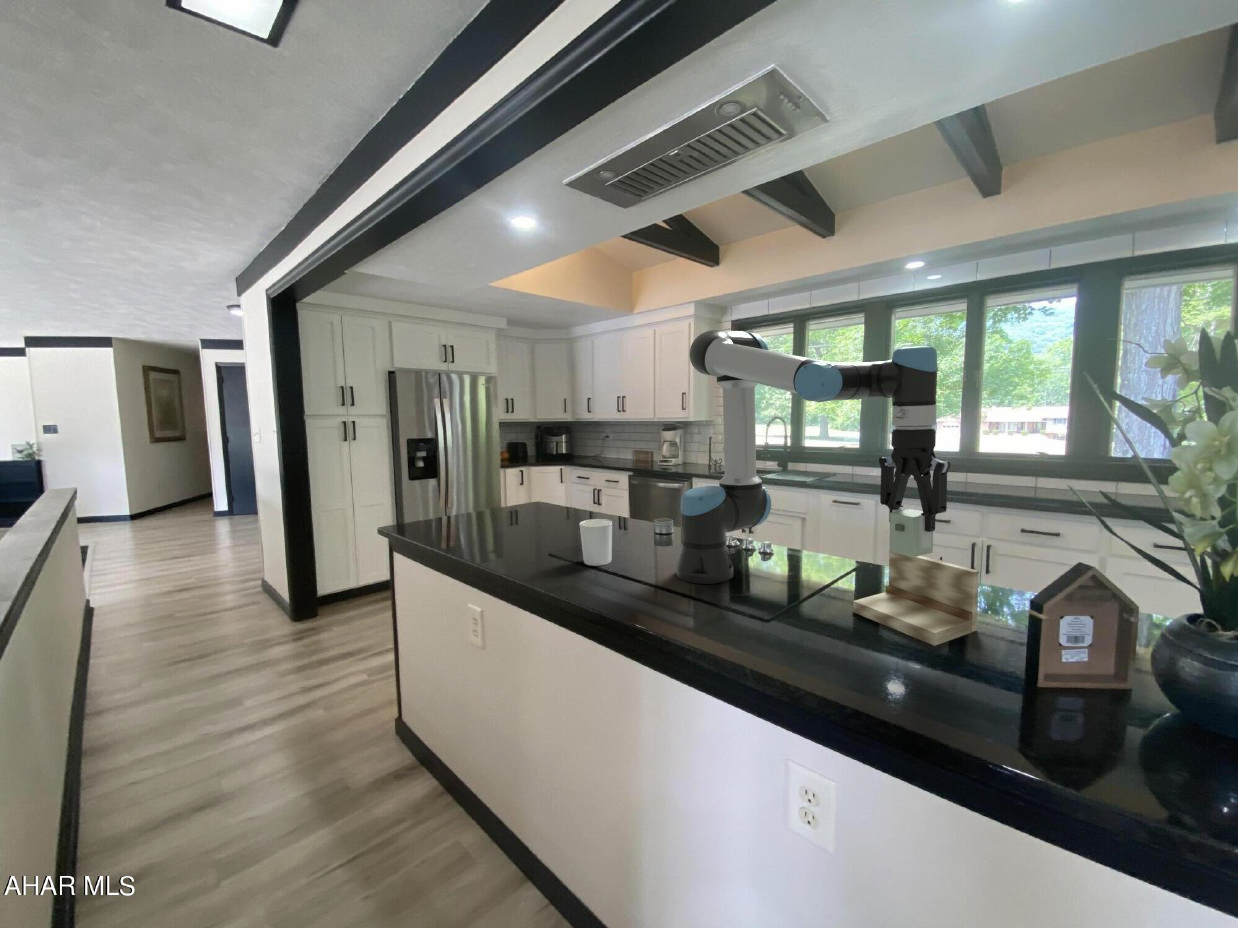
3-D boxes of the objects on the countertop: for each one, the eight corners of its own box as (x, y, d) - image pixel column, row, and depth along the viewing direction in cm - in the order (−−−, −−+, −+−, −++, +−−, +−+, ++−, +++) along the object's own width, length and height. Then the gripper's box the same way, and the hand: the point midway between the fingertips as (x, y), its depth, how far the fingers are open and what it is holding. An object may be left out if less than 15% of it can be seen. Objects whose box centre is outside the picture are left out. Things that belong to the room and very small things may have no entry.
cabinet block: (886, 551, 104) (887, 513, 103) (909, 546, 107) (910, 508, 106) (909, 558, 100) (910, 517, 99) (932, 552, 103) (933, 513, 102)
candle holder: (577, 566, 151) (575, 526, 150) (585, 556, 161) (583, 518, 159) (610, 566, 150) (608, 526, 148) (616, 556, 159) (614, 518, 158)
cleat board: (853, 612, 111) (853, 557, 110) (892, 600, 116) (893, 548, 115) (934, 645, 95) (936, 582, 94) (976, 630, 100) (978, 570, 99)
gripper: (860, 427, 107) (859, 536, 110) (947, 430, 91) (943, 557, 94) (885, 425, 111) (884, 531, 113) (973, 427, 94) (969, 551, 97)
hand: (911, 543), depth 103 cm, fingers closed on cabinet block, 5 cm apart
